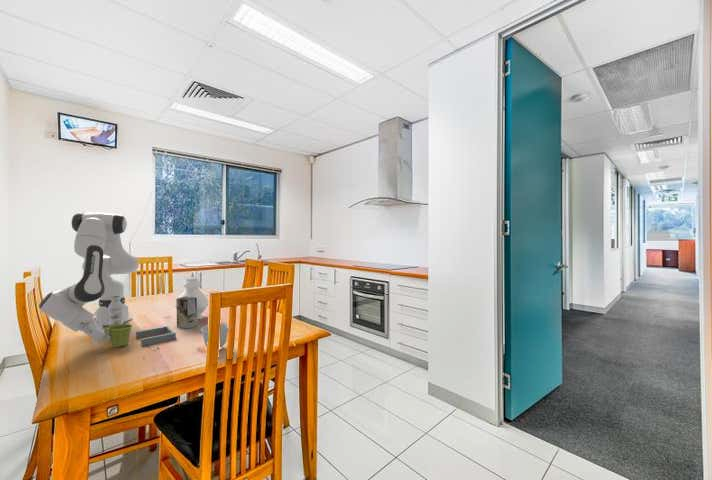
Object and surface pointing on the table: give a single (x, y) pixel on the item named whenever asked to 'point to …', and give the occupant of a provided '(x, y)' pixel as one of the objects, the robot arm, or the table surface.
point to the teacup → (222, 334)
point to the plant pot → (119, 334)
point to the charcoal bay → (156, 339)
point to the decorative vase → (195, 294)
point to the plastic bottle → (115, 311)
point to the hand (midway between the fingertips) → (109, 337)
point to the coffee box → (186, 312)
